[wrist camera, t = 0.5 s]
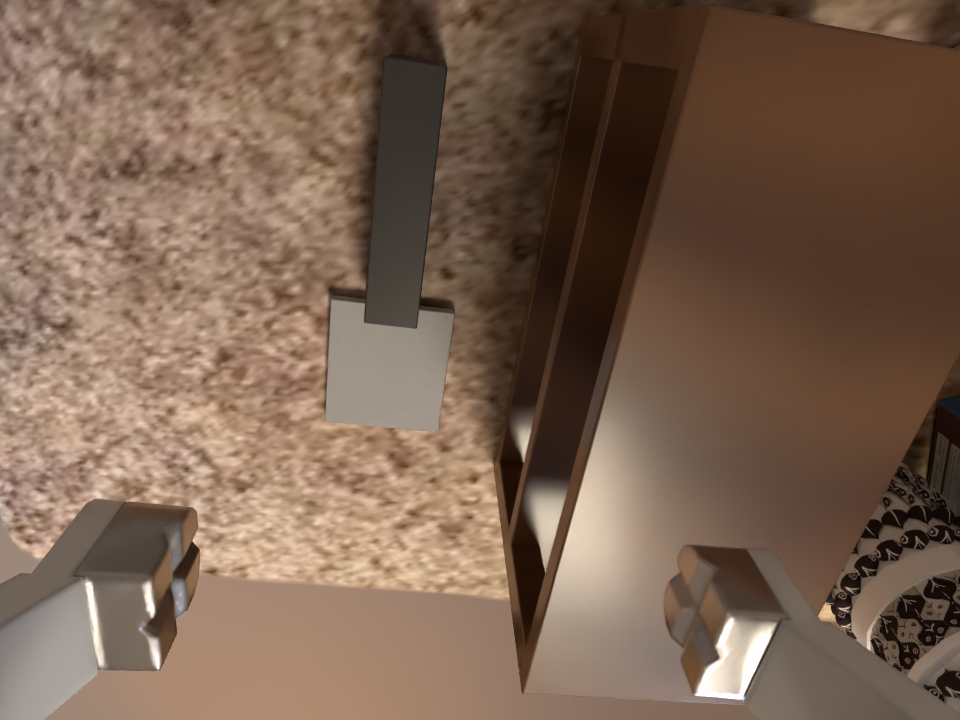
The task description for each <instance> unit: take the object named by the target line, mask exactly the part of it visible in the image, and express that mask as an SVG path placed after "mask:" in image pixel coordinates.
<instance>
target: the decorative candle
mask: <svg viewBox="0 0 960 720" xmlns="http://www.w3.org/2000/svg"><path fill="white" fill-rule="evenodd" d="M825 603H826V604H828V605H831V611H832V613H833V614H834V615H836V616H835V618H836V621H837V623H838V624H839V625H840V626H841V627H843V628H846V632H847V635H848V636H850V637H851V638H853V639H854V640H856V641H859V642H860V643H861V645H863V646H864V647H866V648H867V649H868V650H870V651H871V652H873V653H874V654H876V655H877V656H878V657H880V658H881V659H883V660H884V661H886V662H887V663H888V664H890V665H891V666H893V667H894V668H896V669H897V670H898V671H900V672H901V673H903V674H904V675H906V676H907V677H908V678H910V679H911V680H913V681H914V682H916V683H917V684H919V685H920V686H921V687H923V688H924V689H926V690H927V691H929V692H930V693H931V694H933V695H934V696H936V697H937V698H939V699H940V700H941V701H943V702H944V703H946V704H947V705H949V706H950V707H951V708H953V709H954V710H956V711H957V712H959V713H960V516H957V517H956V515H955V514H954V512H953V511H952V510H951V509H950V508H949V504H948V501H947V499H946V498H945V497H944V496H943V495H942V494H940V493H938V492H935V491H931V490H930V489H929V485H928V483H927V481H926V480H925V479H924V478H923V477H922V476H919V475H916V474H912V473H911V471H910V469H909V468H908V466H907V465H906V464H905V463H904V462H901V464H900V465H899V467H898V469H897V471H896V473H895V475H894V476H893V478H892V480H891V482H890V484H889V486H888V487H887V489H886V491H885V493H884V495H883V497H882V499H881V500H880V502H879V504H878V506H877V508H876V510H875V511H874V513H873V515H872V517H871V519H870V521H869V522H868V524H867V526H866V528H865V530H864V532H863V533H862V535H861V537H860V539H859V541H858V543H857V545H856V546H855V548H854V550H853V552H852V554H851V556H850V557H849V559H848V561H847V563H846V565H845V567H844V568H843V570H842V572H841V574H840V576H839V578H838V579H837V581H836V583H835V585H834V587H833V589H832V591H831V592H830V594H829V596H828V598H827V600H826V602H825Z"/></svg>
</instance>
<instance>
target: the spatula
mask: <svg viewBox="0 0 960 720" xmlns="http://www.w3.org/2000/svg"><path fill="white" fill-rule="evenodd" d="M446 76H447V64H446V63H445V62H439V61H433V60H427V59H421V58H415V57H409V56H403V55H397V54H389V55H386V56H384V61H383V74H382V87H381V101H380V114H379V127H378V140H377V153H376V166H375V180H374V193H373V206H372V219H371V232H370V245H369V259H368V272H367V285H366V298H365V299H362V298H354V297H345V296H337V295H333V296H332V299H331V310H330V330H329V349H328V369H327V389H326V409H325V421H326V422H336V423H346V424H357V425H367V426H378V427H388V428H399V429H409V430H419V431H430V432H438V427H439V420H440V413H441V407H442V400H443V393H444V386H445V379H446V372H447V365H448V358H449V351H450V344H451V337H452V330H453V323H454V317H455V310H454V309H446V308H438V307H429V306H421V305H420V298H421V289H422V281H423V272H424V264H425V255H426V246H427V238H428V229H429V221H430V212H431V204H432V195H433V187H434V178H435V170H436V161H437V152H438V144H439V135H440V127H441V118H442V110H443V101H444V93H445V84H446Z"/></svg>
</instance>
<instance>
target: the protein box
mask: <svg viewBox="0 0 960 720" xmlns="http://www.w3.org/2000/svg"><path fill="white" fill-rule="evenodd" d="M931 454H932V455H931V461H930V469H929V475H928V485H929V489H930V490H931V491H935V492H938V493H940V494H942V495H943V496H944V497H945V498H946V499H947V501H948V504H949V508H950V509H951V510H952V511H953V512H954V514H955V515H956V517H957V516H960V396H959V397H954V398H949V399H945V400H942V401H940V402H939V404H938V408H937V415H936V423H935V432H934V439H933V446H932V453H931Z"/></svg>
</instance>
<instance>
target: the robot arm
mask: <svg viewBox="0 0 960 720" xmlns="http://www.w3.org/2000/svg"><path fill="white" fill-rule="evenodd" d="M197 529H198V520H197V511H196V510H195V509H194V508H191V507H181V506H171V505H160V504H150V503H140V502H123V501H113V500H102V499H94V500H92V501H90V502H88V503H87V504H85V506H84V507H83V508H82V510H81V511H80V512H79V513H78V515H77V516H76V517H75V519H74V520H73V521H72V522H71V524H70V525H69V526H68V528H67V529H66V530H65V531H64V533H63V534H62V535H61V537H60V538H59V539H58V540H57V542H56V543H55V544H54V546H53V547H52V548H51V549H50V551H49V552H48V553H47V555H46V556H45V557H44V558H43V560H42V561H41V562H40V564H39V565H38V566H37V567H36V569H35V570H34V571H33V573H32V574H25V573H21V574H18V575H17V576H15V577H13V578H11V579H9V580H7V581H5V582H3V583H1V584H0V720H44V719H45V718H46V717H48V716H49V715H50V714H51V713H52V712H53V711H55V710H56V709H57V708H58V707H59V706H61V705H62V704H63V703H64V702H65V701H67V700H68V699H69V698H70V697H71V696H73V695H74V694H75V693H76V692H77V691H78V690H80V689H81V688H82V687H83V686H84V685H86V684H87V683H88V682H89V681H90V680H92V679H93V678H94V677H95V676H96V675H97V674H98V670H126V671H127V670H128V671H160V670H161V668H162V666H163V664H164V661H165V659H166V657H167V655H168V652H169V650H170V648H171V646H172V643H173V641H174V639H175V637H176V635H177V628H176V618H177V617H178V616H180V615H181V614H183V613H184V612H185V611H187V610H188V608H189V605H190V603H191V601H192V598H193V596H194V593H195V589H196V585H197V581H198V577H199V567H200V550H199V548H198V547H197V546H196V545H195V544H194V543H193V542H192V540H193V538H194V535H195V533H196V531H197ZM676 563H677V566H678V568H679V570H680V573H678V574H677V575H676V576H674V577H673V578H672V579H670V580H669V581H668V584H667V588H666V591H665V594H664V611H663V612H664V617H665V623H666V626H667V629H668V631H669V634H670V637H671V638H672V639H673V640H674V641H675V642H677V643H678V644H679V645H680V646H681V647H682V648H683V649H684V650H683V652H682V655H681V657H680V662H681V665H682V667H683V670H684V672H685V675H686V677H687V680H688V682H689V685H690V687H691V690H692V692H693V695H694V696H708V697H721V698H734V699H744V700H743V702H744V703H745V705H746V706H747V707H748V708H749V709H750V710H751V711H752V712H753V713H754V714H755V715H756V716H757V717H758V718H759V719H760V720H960V713H959V712H957V711H956V710H954V709H953V708H951V707H950V706H949V705H947V704H946V703H944V702H943V701H941V700H940V699H939V698H937V697H936V696H934V695H933V694H931V693H930V692H929V691H927V690H926V689H924V688H923V687H921V686H920V685H919V684H917V683H916V682H914V681H913V680H911V679H910V678H908V677H907V676H906V675H904V674H903V673H901V672H900V671H898V670H897V669H896V668H894V667H893V666H891V665H890V664H888V663H887V662H886V661H884V660H883V659H881V658H880V657H878V656H877V655H876V654H874V653H873V652H871V651H870V650H868V649H867V648H866V647H864V646H863V645H861V644H860V643H858V642H857V641H856V640H854V639H853V638H851V637H850V636H848V635H847V634H846V633H844V632H843V631H841V630H840V629H838V628H837V627H835V626H834V625H832V624H831V623H829V622H821V621H820V619H819V618H818V616H817V615H816V613H815V612H814V610H813V609H812V607H811V606H810V604H809V603H808V601H807V600H806V598H805V597H804V595H803V594H802V592H801V591H800V589H799V588H798V587H797V585H796V584H795V582H794V581H793V579H792V578H791V576H790V575H789V573H788V572H787V570H786V569H785V567H784V566H783V564H782V563H781V561H780V560H779V558H778V557H777V555H776V554H775V553H774V552H772V551H771V550H769V549H762V548H744V547H741V548H734V547H719V546H704V545H689V544H685V545H684V546H683V548H682V549H681V550H680V552H679V554H678V557H677V559H676Z"/></svg>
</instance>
